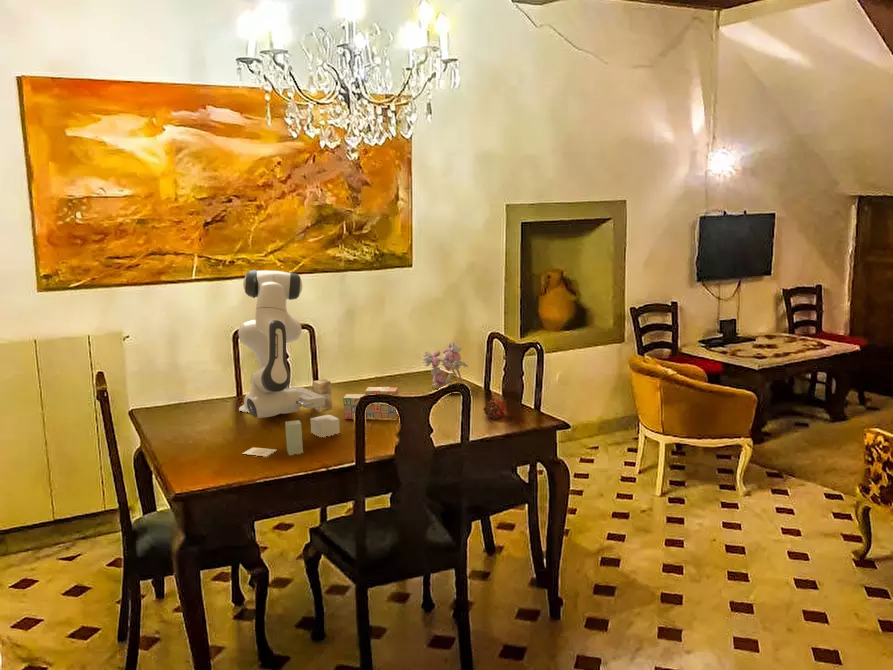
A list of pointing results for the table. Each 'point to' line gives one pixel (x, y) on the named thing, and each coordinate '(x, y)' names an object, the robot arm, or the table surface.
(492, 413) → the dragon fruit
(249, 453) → the card
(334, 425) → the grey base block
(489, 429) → the table surface
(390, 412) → the stack of blocks
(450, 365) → the flower
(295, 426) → the sage block
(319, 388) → the birch block
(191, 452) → the table surface
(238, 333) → the robot arm
